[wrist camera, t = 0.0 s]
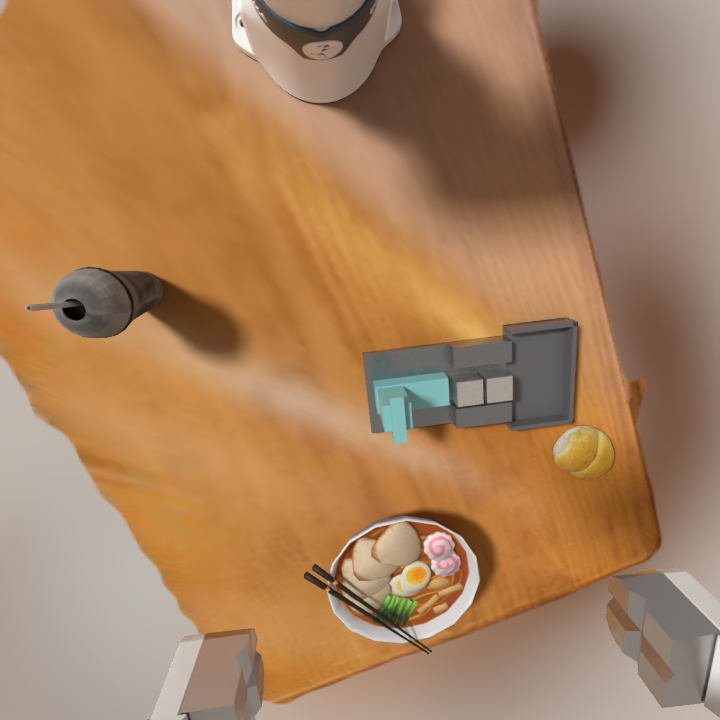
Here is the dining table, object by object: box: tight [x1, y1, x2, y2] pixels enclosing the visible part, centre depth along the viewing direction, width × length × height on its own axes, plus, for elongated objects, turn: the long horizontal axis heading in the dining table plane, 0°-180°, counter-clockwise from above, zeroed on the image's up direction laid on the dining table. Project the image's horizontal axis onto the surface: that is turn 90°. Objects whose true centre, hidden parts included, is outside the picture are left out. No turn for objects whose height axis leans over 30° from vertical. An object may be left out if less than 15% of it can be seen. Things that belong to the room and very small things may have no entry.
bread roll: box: [553, 425, 614, 480], centre depth 63 cm, size 8×9×4 cm
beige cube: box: [449, 370, 484, 407], centre depth 57 cm, size 4×4×4 cm
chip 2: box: [477, 367, 513, 403], centre depth 57 cm, size 4×4×4 cm
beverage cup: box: [26, 267, 164, 338], centre depth 43 cm, size 7×7×20 cm
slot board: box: [363, 336, 512, 433], centre depth 58 cm, size 12×20×3 cm, turn 96°
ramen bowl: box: [304, 515, 480, 654], centre depth 63 cm, size 25×23×8 cm
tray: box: [503, 317, 578, 431], centre depth 58 cm, size 15×9×3 cm, turn 6°
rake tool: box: [373, 372, 450, 444], centre depth 54 cm, size 6×10×10 cm, turn 96°
